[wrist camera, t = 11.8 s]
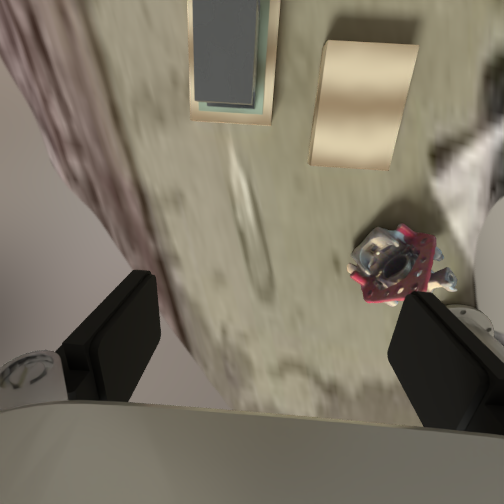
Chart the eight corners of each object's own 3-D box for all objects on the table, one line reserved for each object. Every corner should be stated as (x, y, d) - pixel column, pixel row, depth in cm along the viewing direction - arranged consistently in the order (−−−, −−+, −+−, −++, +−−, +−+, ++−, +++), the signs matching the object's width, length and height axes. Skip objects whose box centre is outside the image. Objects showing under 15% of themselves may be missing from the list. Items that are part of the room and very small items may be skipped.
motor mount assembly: (383, 197, 34) (477, 263, 27) (409, 221, 42) (487, 277, 34) (322, 264, 38) (388, 338, 31) (356, 275, 46) (415, 335, 38)
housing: (254, 109, 30) (251, 103, 24) (209, 106, 30) (194, 100, 24) (260, 4, 27) (258, -34, 21) (208, 1, 27) (191, -37, 21)
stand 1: (270, 125, 34) (270, 125, 31) (196, 121, 34) (190, 120, 31) (280, -1, 29) (281, -16, 26) (194, -6, 29) (186, -21, 26)
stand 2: (379, 167, 35) (388, 170, 32) (307, 162, 35) (310, 165, 32) (405, 53, 30) (419, 45, 27) (322, 48, 30) (327, 40, 28)
